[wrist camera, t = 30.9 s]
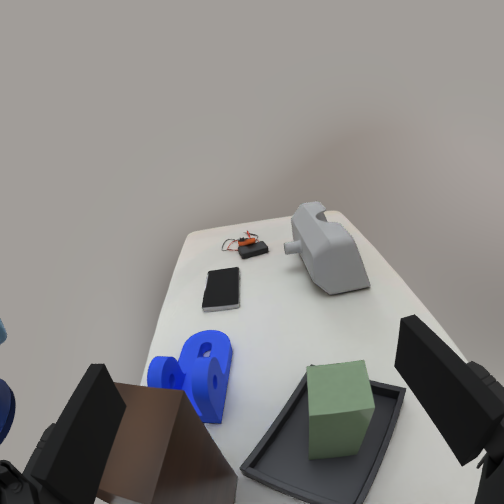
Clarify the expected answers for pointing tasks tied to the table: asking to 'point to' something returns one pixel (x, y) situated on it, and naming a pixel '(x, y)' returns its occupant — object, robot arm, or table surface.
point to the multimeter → (250, 247)
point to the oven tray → (329, 469)
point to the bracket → (197, 373)
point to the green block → (337, 409)
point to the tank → (326, 250)
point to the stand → (164, 453)
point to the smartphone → (222, 290)
